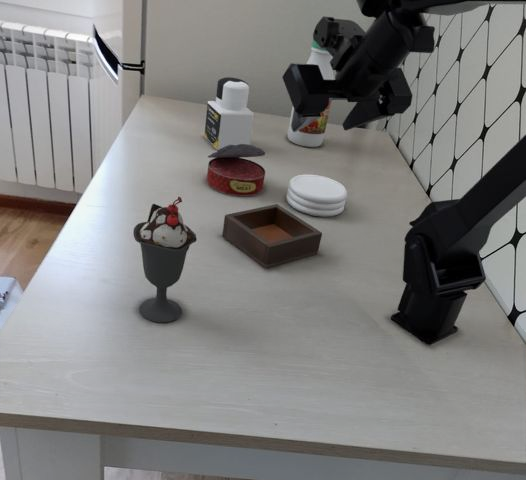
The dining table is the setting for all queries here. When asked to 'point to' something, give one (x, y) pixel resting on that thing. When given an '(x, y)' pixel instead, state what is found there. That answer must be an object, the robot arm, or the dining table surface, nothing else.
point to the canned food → (236, 171)
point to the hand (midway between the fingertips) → (319, 128)
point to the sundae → (163, 258)
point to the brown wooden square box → (271, 235)
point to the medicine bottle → (229, 114)
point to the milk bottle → (316, 129)
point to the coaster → (316, 195)
